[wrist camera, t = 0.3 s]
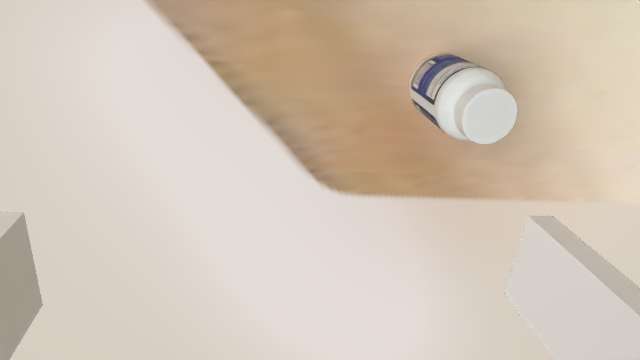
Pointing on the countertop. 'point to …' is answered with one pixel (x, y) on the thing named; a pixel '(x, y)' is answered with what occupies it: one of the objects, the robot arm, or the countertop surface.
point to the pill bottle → (463, 99)
